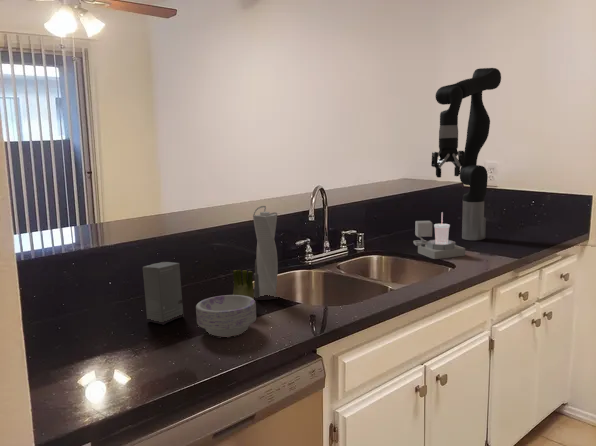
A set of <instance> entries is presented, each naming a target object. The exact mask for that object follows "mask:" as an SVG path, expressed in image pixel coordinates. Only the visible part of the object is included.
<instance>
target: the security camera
mask: <svg viewBox="0 0 596 446" xmlns="http://www.w3.org/2000/svg"><path fill="white" fill-rule="evenodd" d="M414 224H415V228H414V230H415V231H414V234H415V236H416V237H417V238H419V239H420V240H419V239H417V240H413V245H415V246H417V247H418V246H421V244H425V245H427V242H428V240H425V239H424V238H425V237H426V238H427V237H431V238H433V222H432V221H431V220H415V223H414ZM423 237H424V238H423Z"/></svg>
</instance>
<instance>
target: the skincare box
mask: <svg viewBox="0 0 596 446" xmlns="http://www.w3.org/2000/svg"><path fill="white" fill-rule="evenodd" d="M142 276H143V288H144V299H145V311H146V320H147V319H151V320H154V321H159V322H164V321H167V320H170V319H172V318H174V317H177V316H179V315H182V314H183V315H184V307H183V295H182V294H183V293H182V292H183V291H182V282H181V278H182V277H181V267H180V262H173V261H172V262H171V261H161V262H157V263H151V264H149V265H144V266H142Z"/></svg>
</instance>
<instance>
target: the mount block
mask: <svg viewBox="0 0 596 446" xmlns="http://www.w3.org/2000/svg"><path fill="white" fill-rule="evenodd" d="M417 253H418V254H420V255H423V256H426V257H427V258H430V259H434V260H439V259H441V260H442V259H446V258H456V257H465V256H466V247H462V246H459V245H457V244H456V241H453V240H451V239H448V244H435V239H430V240H427V245H425V244H421V246H417Z"/></svg>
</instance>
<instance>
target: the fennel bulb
mask: <svg viewBox="0 0 596 446" xmlns="http://www.w3.org/2000/svg"><path fill="white" fill-rule="evenodd" d="M232 274H233V292H232V295H243V296H248V297H251V298H253V299H254V272H253V271H251V270H249V271H248V270H246V269H245V270H243V269H242V270H241V269H237V270H236V269H235V270H232Z"/></svg>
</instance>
